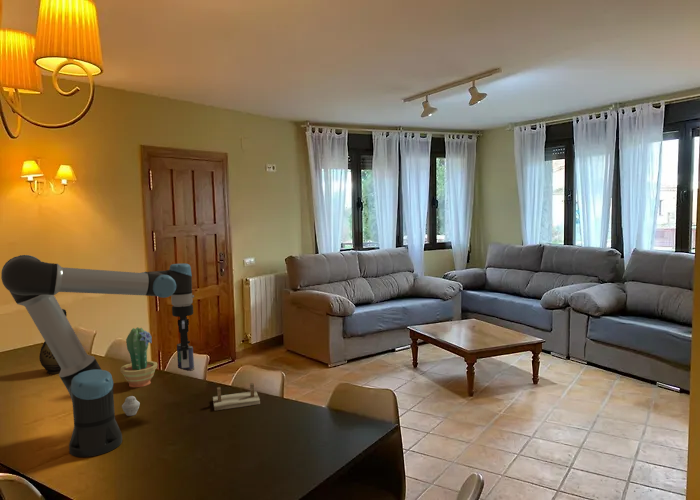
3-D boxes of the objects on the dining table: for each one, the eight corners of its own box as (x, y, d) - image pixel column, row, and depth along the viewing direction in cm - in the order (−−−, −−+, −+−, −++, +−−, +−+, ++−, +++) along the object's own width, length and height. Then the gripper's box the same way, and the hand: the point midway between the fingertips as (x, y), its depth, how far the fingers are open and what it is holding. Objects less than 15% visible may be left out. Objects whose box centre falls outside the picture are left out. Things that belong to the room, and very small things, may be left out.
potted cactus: (127, 392, 207) (123, 334, 205) (116, 383, 218) (112, 328, 216) (164, 383, 217) (160, 327, 215) (151, 375, 228) (148, 322, 227)
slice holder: (260, 403, 190) (259, 387, 189) (214, 410, 184) (213, 393, 184) (256, 394, 200) (255, 378, 200) (213, 400, 195) (212, 384, 194)
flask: (195, 369, 185) (193, 341, 184) (189, 372, 182) (186, 343, 181) (182, 365, 191) (180, 338, 190) (175, 367, 188) (173, 340, 187)
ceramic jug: (65, 375, 232) (61, 313, 230) (33, 376, 232) (28, 313, 230) (85, 364, 249) (81, 306, 246) (55, 365, 249) (51, 307, 247)
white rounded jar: (133, 418, 180) (132, 399, 179) (118, 417, 181) (117, 398, 180) (143, 411, 186) (142, 393, 185) (129, 410, 187) (128, 392, 186)
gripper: (193, 308, 176) (196, 370, 178) (192, 299, 196) (195, 355, 197) (171, 310, 174) (174, 373, 175) (172, 301, 194) (175, 358, 195)
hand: (185, 364), depth 186 cm, fingers closed on flask, 8 cm apart
